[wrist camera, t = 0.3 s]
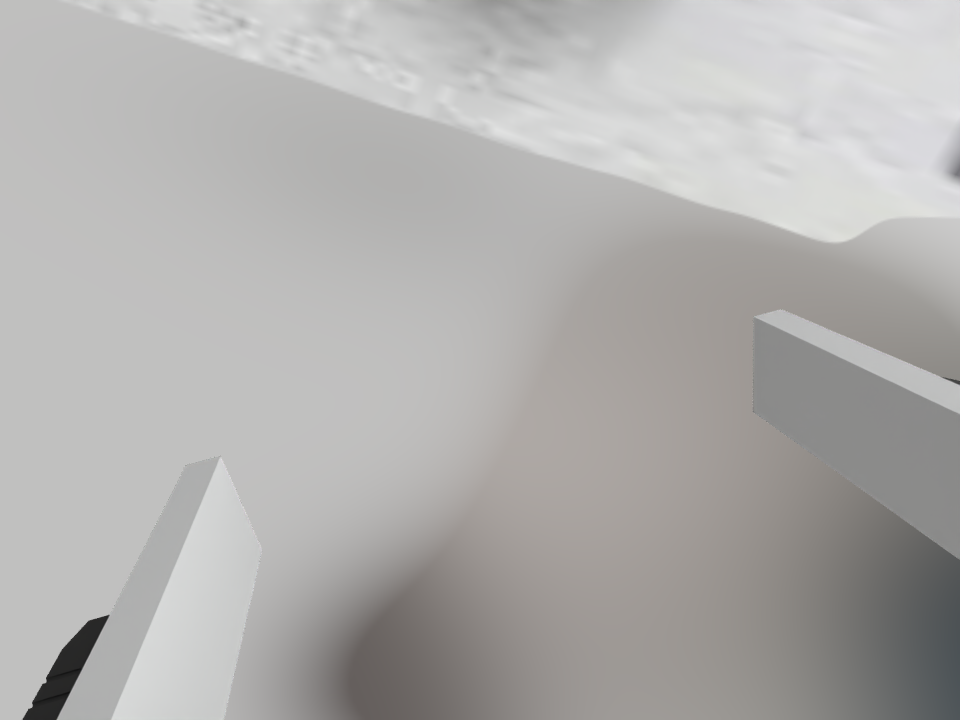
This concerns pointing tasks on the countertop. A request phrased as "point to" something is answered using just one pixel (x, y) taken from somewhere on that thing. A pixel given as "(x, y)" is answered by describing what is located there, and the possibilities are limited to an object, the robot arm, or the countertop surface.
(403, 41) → the countertop surface
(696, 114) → the countertop surface
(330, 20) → the countertop surface
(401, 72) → the countertop surface
